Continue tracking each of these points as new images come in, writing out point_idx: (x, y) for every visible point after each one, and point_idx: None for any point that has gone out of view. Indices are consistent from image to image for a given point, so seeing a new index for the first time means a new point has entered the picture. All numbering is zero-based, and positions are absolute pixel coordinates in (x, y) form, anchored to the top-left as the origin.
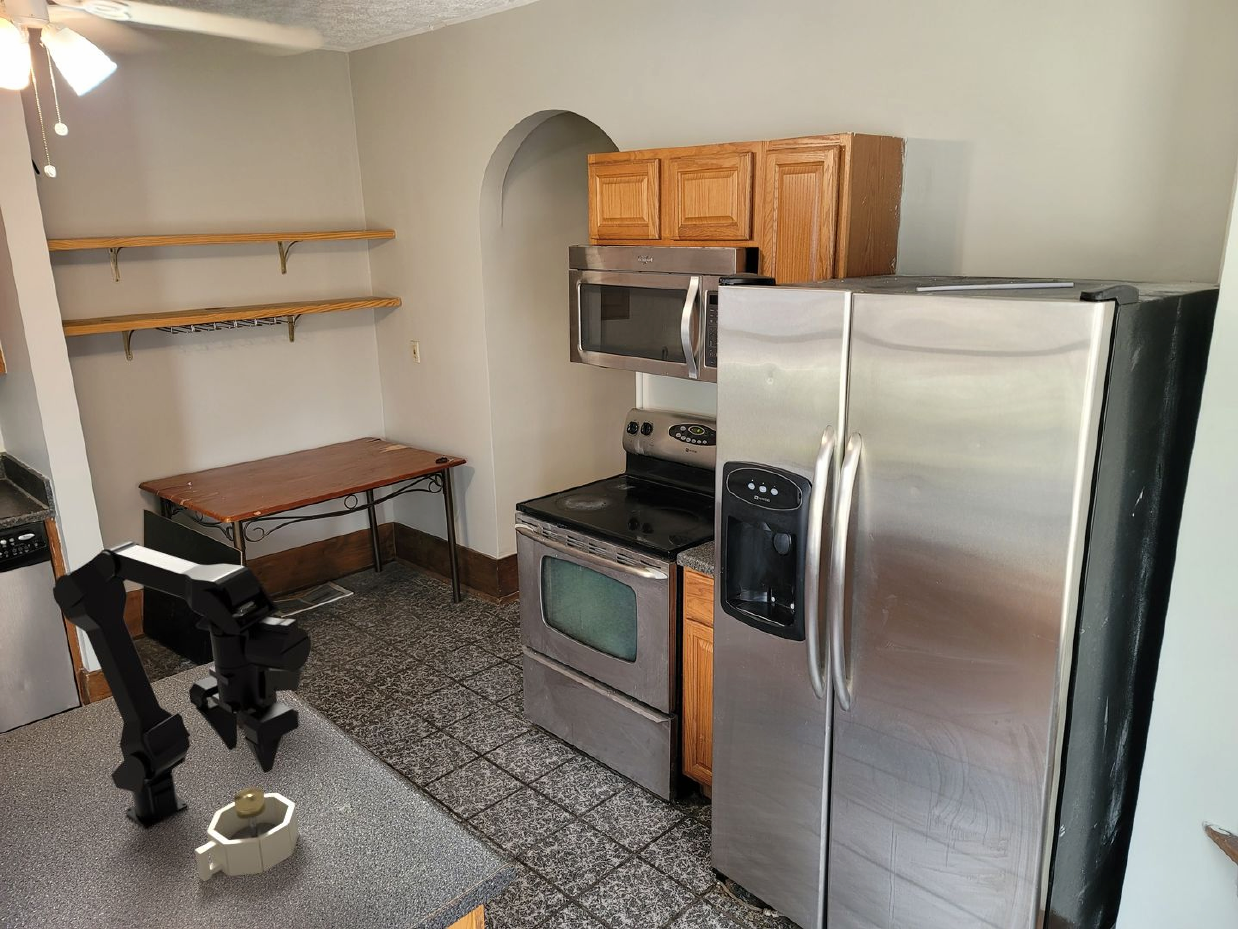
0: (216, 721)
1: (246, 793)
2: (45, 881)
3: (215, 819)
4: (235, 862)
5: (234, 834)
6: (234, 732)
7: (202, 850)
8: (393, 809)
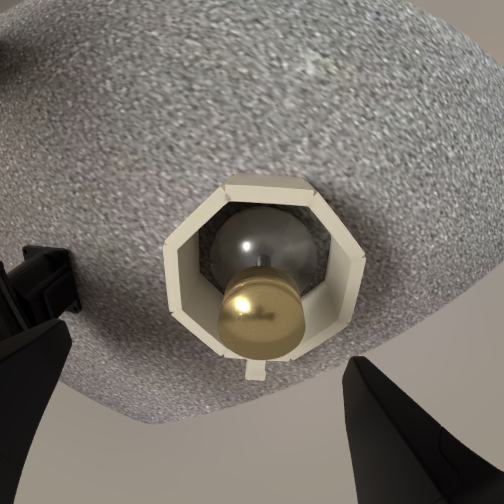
0: (9, 461)
1: (245, 328)
2: (112, 395)
3: (196, 329)
4: None
5: (214, 274)
6: (21, 361)
7: (259, 375)
8: (400, 35)
